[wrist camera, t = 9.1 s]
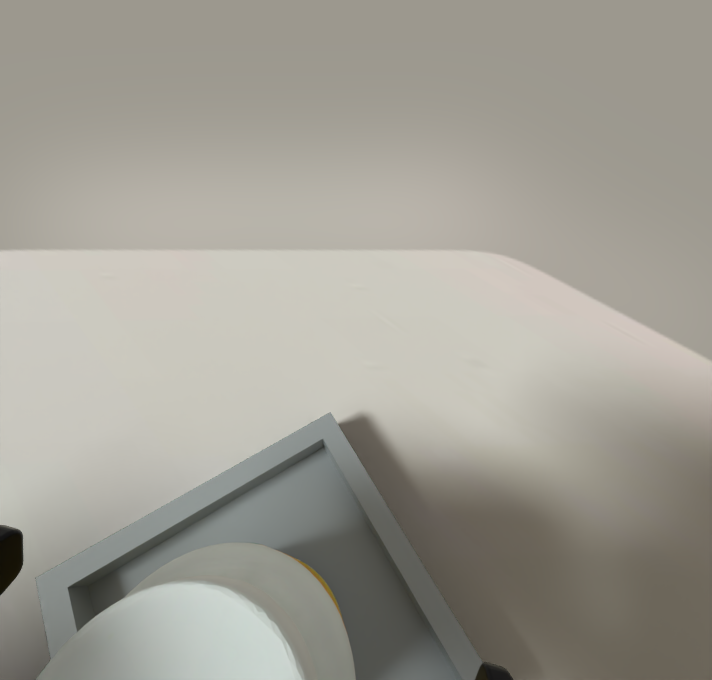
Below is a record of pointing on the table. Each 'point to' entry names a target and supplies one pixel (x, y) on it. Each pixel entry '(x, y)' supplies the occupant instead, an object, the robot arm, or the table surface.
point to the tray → (295, 538)
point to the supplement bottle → (215, 624)
